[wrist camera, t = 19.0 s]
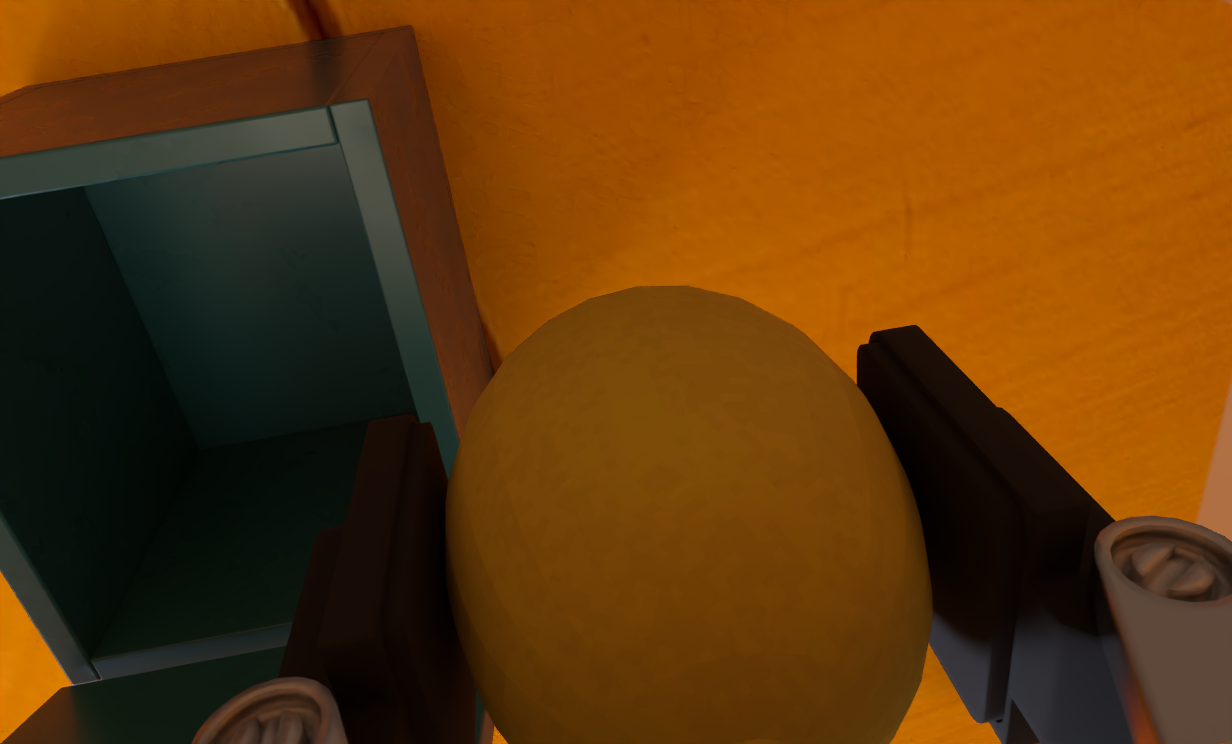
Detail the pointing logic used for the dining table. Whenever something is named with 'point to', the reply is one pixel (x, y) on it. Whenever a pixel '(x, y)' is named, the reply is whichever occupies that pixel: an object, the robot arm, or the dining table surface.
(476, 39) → the dining table surface
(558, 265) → the dining table surface
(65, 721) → the box lid
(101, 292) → the teal box
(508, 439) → the lemon
